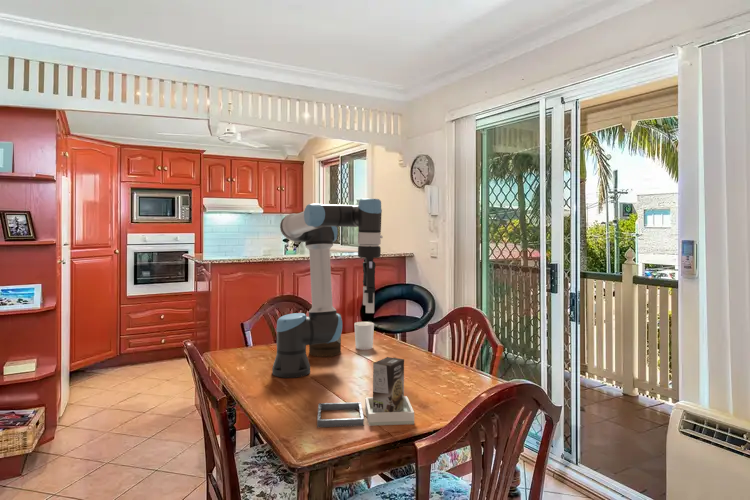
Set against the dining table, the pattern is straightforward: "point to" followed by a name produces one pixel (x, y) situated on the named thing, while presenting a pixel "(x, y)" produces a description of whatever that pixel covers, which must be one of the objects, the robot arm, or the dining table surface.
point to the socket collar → (340, 421)
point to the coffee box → (388, 385)
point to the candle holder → (364, 335)
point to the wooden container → (326, 348)
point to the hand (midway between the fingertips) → (368, 308)
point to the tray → (389, 414)
